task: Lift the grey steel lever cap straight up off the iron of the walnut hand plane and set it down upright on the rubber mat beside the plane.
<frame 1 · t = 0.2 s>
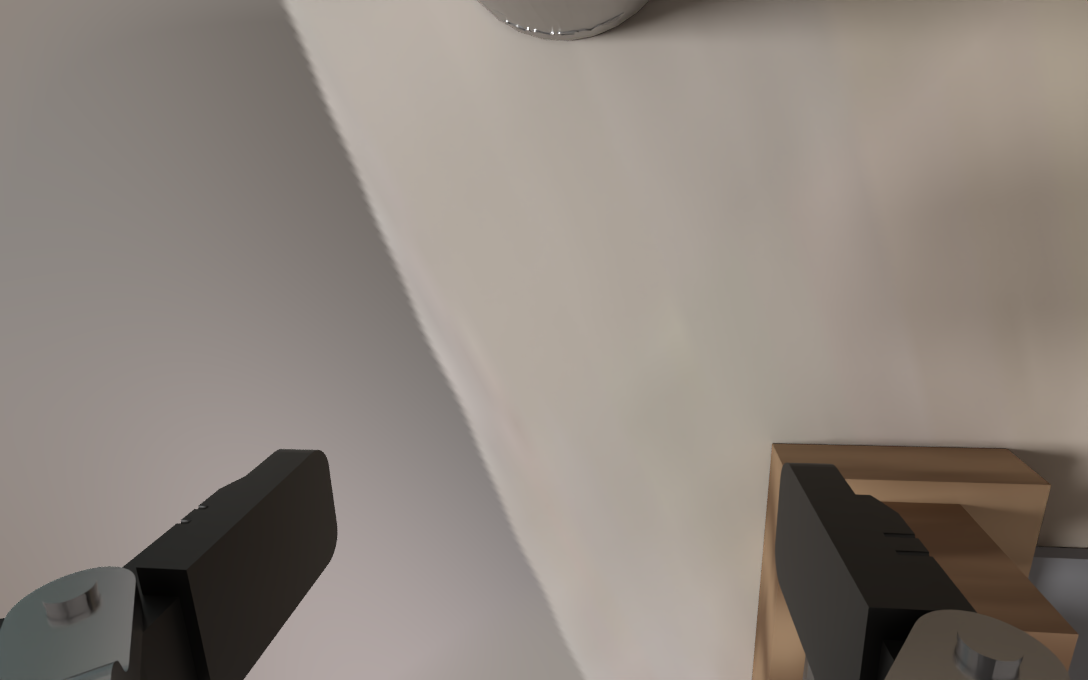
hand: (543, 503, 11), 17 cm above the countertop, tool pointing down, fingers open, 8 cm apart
plane body: (857, 640, 31), on the countertop
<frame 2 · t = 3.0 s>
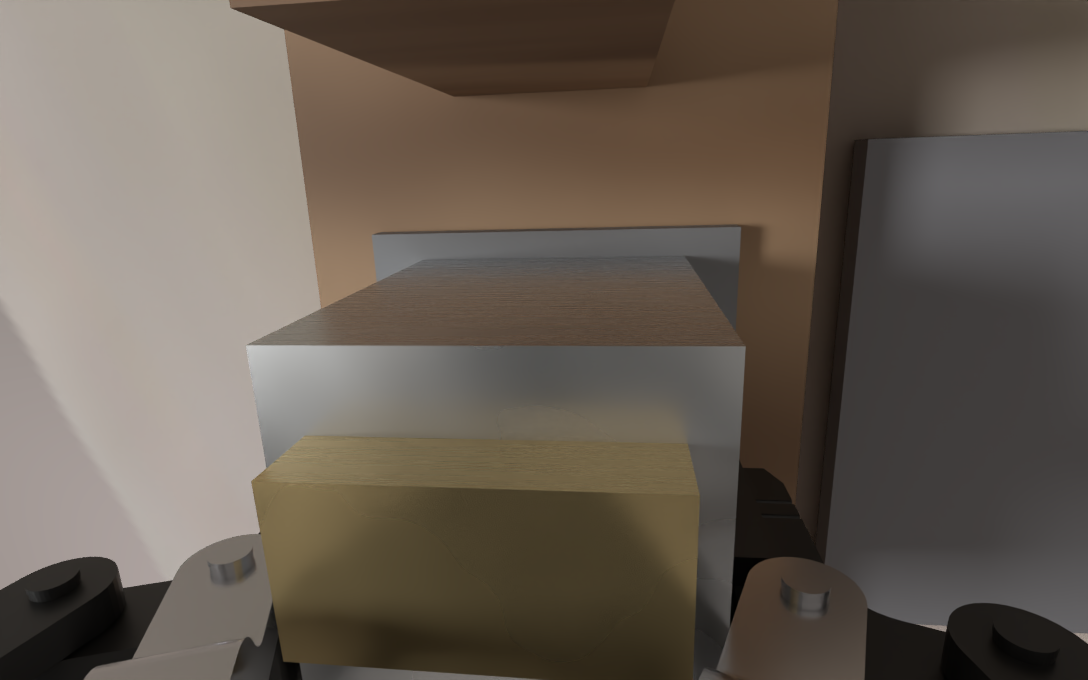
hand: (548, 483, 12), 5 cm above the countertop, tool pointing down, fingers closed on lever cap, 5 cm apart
plane body: (569, 390, 16), on the countertop
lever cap: (556, 449, 13), point 3 cm above the countertop, touching gripper, plane body
rubber mat: (1027, 395, 15), on the countertop
when the fingers open (4 cm above the countertop, at t = 8.4 s): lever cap drops 1 cm, resting on rubber mat.
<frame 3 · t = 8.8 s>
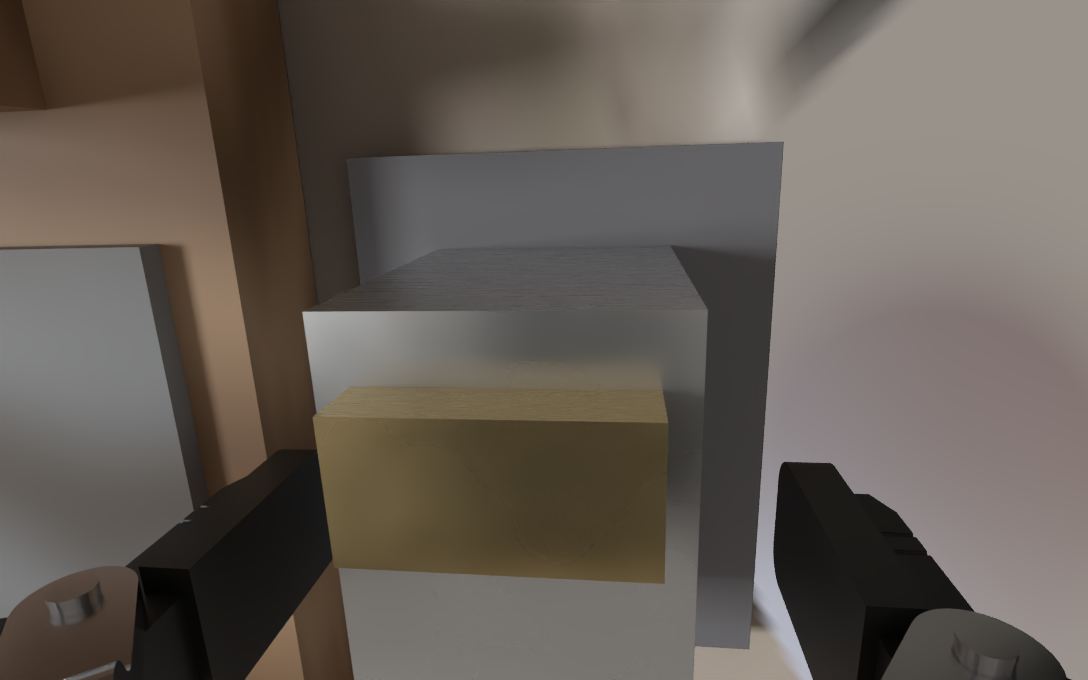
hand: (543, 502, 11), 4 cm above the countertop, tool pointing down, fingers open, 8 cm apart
plane body: (152, 402, 16), on the countertop
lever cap: (555, 420, 14), point 1 cm above the countertop, touching rubber mat
rubber mat: (565, 408, 15), on the countertop
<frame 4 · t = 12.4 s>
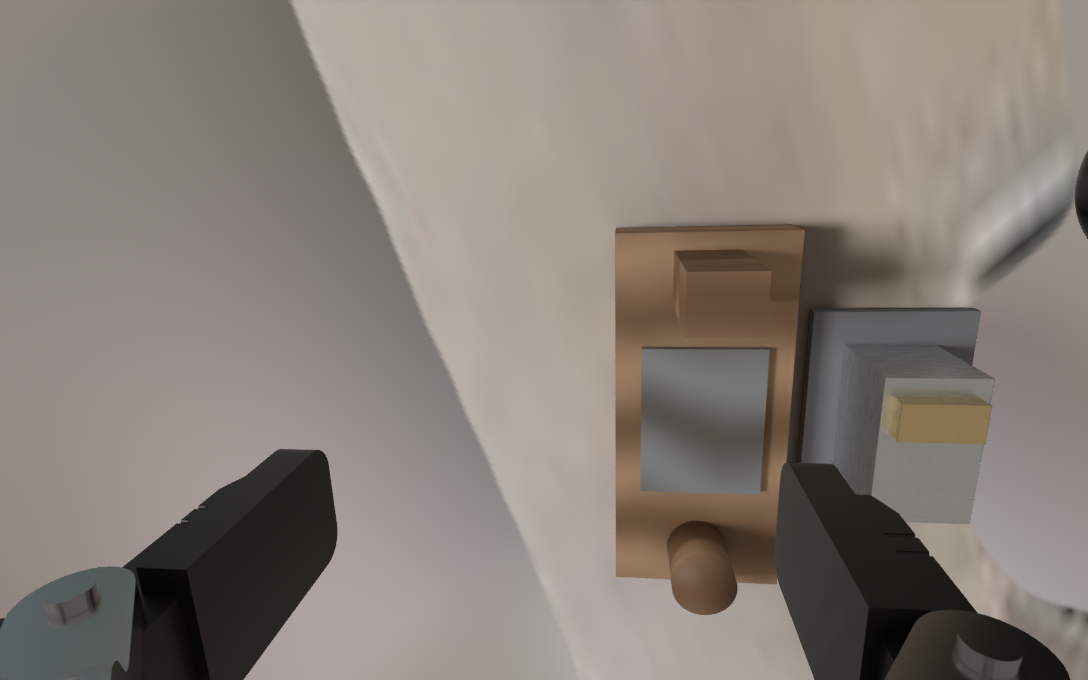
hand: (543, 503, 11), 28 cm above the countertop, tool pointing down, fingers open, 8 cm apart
plane body: (695, 401, 39), on the countertop
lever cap: (881, 408, 37), point 1 cm above the countertop, touching rubber mat
rubber mat: (878, 403, 38), on the countertop
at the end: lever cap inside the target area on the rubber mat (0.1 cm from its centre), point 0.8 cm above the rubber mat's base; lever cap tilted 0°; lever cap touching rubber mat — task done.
